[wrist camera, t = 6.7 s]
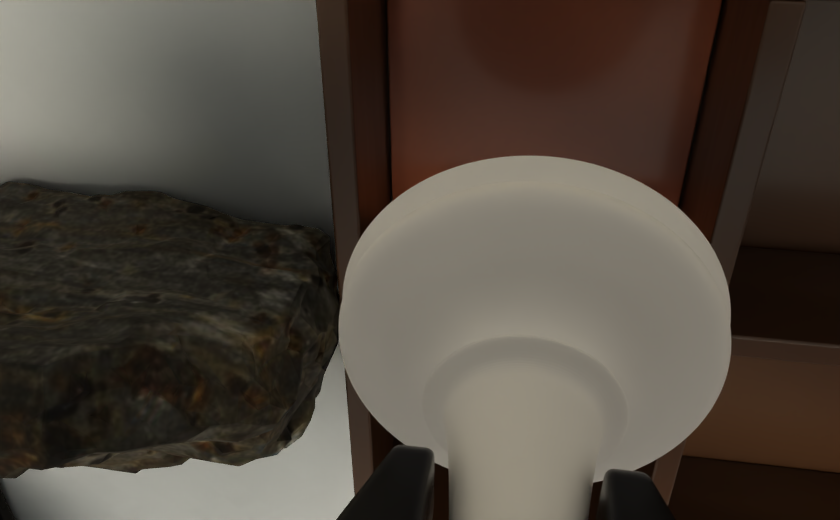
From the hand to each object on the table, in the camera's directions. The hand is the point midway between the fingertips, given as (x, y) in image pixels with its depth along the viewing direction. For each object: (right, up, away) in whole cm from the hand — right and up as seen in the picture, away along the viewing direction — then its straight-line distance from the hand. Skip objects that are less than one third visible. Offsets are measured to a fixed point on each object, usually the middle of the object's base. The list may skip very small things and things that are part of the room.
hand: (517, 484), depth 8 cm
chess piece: (0, +2, +2) cm, 3 cm away
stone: (-10, +3, +12) cm, 16 cm away
